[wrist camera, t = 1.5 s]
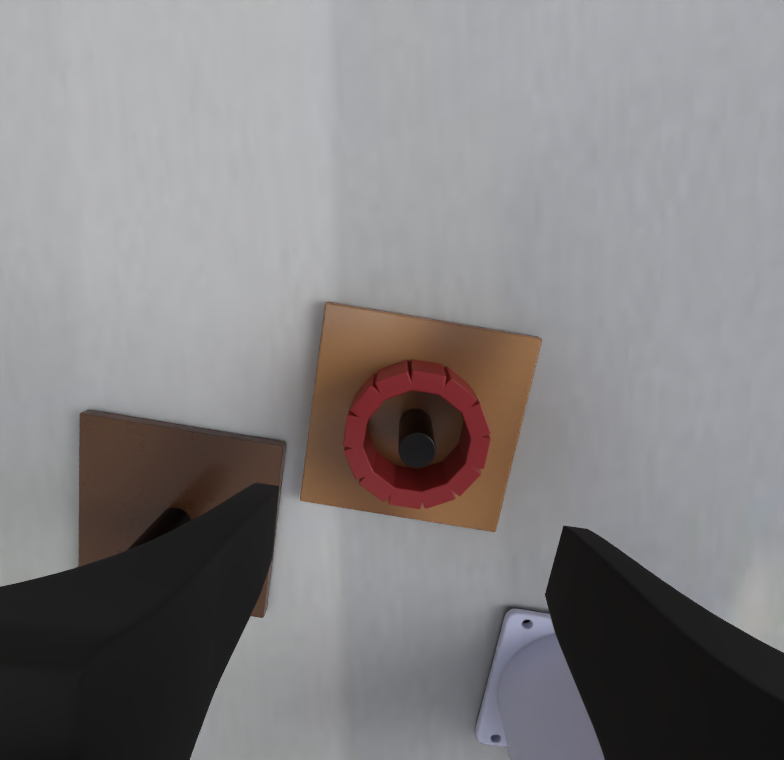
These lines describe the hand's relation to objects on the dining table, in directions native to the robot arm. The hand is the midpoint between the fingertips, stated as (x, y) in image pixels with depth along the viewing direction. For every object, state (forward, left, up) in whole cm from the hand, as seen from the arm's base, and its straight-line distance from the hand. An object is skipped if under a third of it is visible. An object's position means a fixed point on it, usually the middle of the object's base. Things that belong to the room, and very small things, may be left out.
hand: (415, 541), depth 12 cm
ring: (0, 0, -9) cm, 9 cm away
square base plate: (+10, +6, -10) cm, 15 cm away
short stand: (0, 0, -10) cm, 10 cm away
